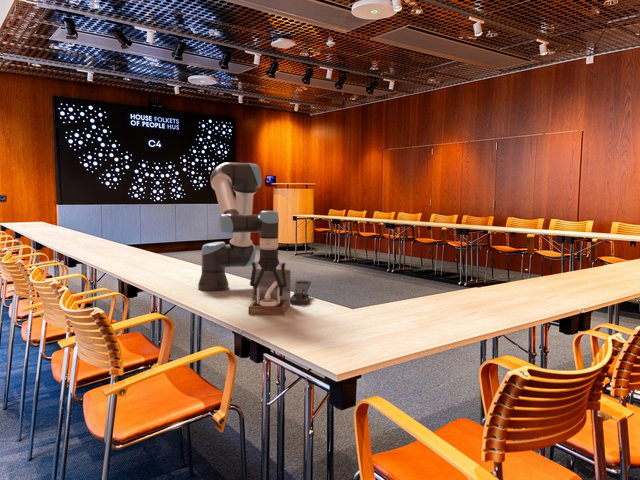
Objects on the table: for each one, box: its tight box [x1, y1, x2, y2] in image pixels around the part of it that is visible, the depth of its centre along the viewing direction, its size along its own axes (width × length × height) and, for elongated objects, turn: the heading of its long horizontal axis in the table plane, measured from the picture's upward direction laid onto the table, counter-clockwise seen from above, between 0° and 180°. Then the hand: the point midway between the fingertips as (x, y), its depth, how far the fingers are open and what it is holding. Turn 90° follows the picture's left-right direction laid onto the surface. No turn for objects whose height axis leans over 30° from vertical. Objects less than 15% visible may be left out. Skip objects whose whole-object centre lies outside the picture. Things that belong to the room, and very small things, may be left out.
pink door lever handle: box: [259, 281, 278, 306], centre depth 197 cm, size 8×12×7 cm
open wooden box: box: [247, 268, 292, 316], centre depth 199 cm, size 17×16×16 cm
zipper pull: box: [290, 280, 312, 306], centre depth 222 cm, size 9×7×25 cm
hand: (268, 303), depth 198 cm, fingers open, 8 cm apart
